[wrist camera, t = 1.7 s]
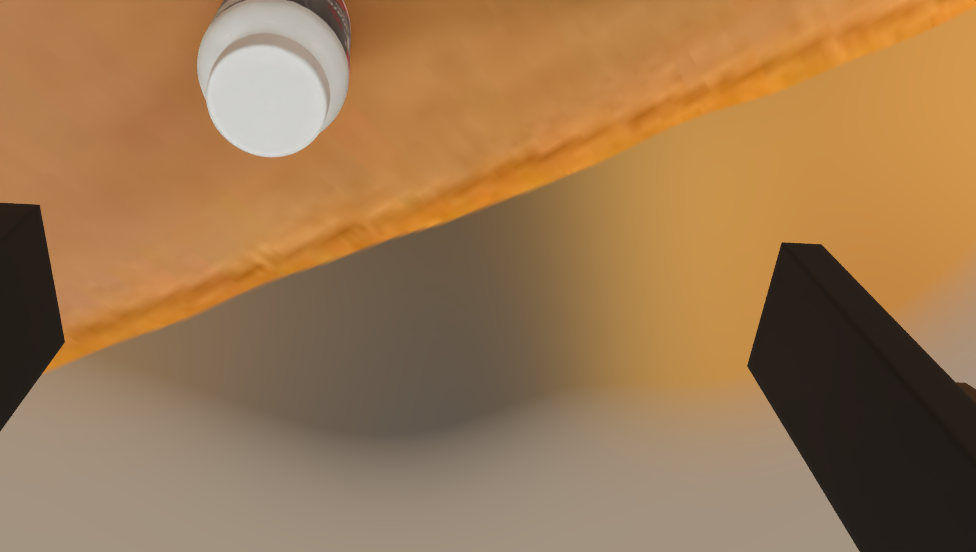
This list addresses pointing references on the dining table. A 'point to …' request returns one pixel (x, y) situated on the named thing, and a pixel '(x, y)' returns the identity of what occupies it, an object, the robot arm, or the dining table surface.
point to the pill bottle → (275, 71)
